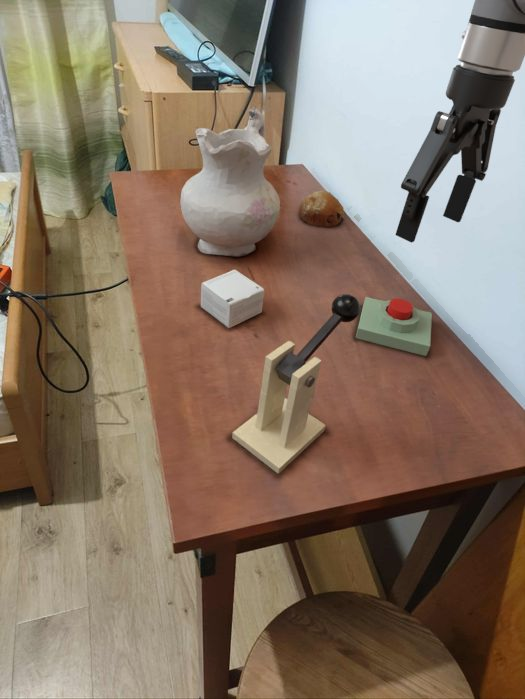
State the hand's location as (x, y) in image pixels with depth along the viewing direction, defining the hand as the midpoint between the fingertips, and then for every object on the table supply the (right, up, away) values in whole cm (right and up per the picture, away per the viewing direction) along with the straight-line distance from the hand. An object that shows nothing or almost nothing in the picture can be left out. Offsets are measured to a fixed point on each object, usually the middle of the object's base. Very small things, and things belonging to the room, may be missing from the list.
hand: (429, 228), depth 76 cm
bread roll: (-11, +13, +44) cm, 47 cm away
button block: (-2, -15, +13) cm, 20 cm away
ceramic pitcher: (-32, +5, +31) cm, 45 cm away
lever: (-17, -17, -12) cm, 27 cm away
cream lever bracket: (-23, -30, -7) cm, 38 cm away
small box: (-30, -11, +13) cm, 35 cm away
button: (-2, -12, +11) cm, 16 cm away
